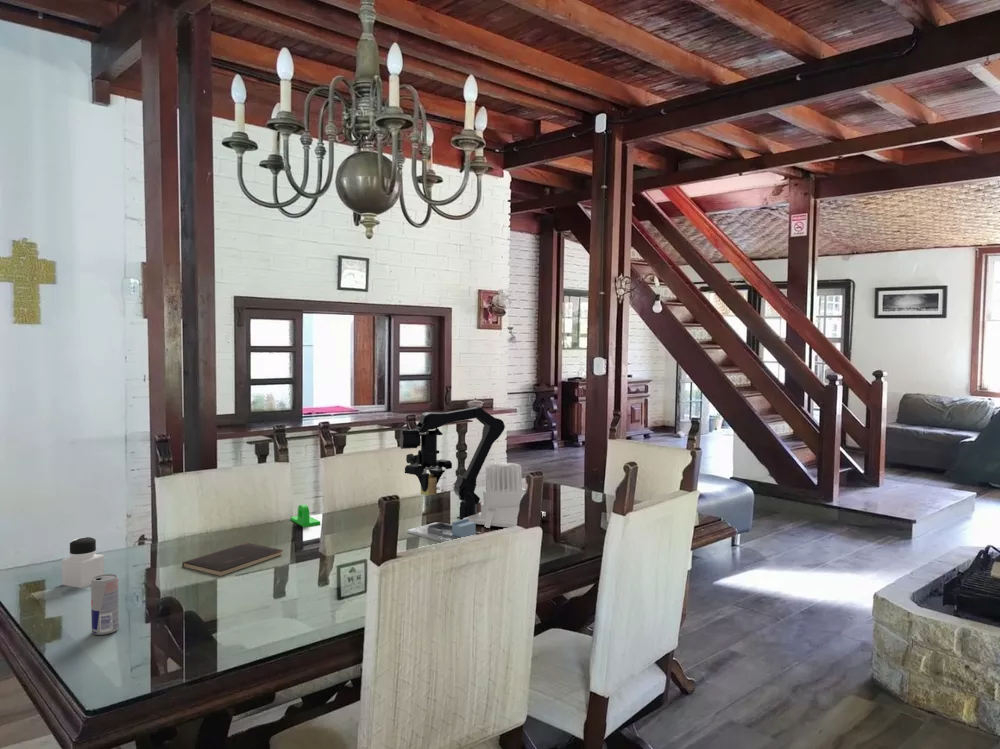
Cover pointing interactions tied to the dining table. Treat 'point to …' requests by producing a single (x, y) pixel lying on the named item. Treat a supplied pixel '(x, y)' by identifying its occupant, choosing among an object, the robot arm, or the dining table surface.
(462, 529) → the block
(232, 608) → the dining table surface
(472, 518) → the recessed light fixture
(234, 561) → the hardcover book
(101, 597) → the energy drink
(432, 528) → the seat jig
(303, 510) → the mechanical part
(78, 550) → the medicine bottle
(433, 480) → the block
